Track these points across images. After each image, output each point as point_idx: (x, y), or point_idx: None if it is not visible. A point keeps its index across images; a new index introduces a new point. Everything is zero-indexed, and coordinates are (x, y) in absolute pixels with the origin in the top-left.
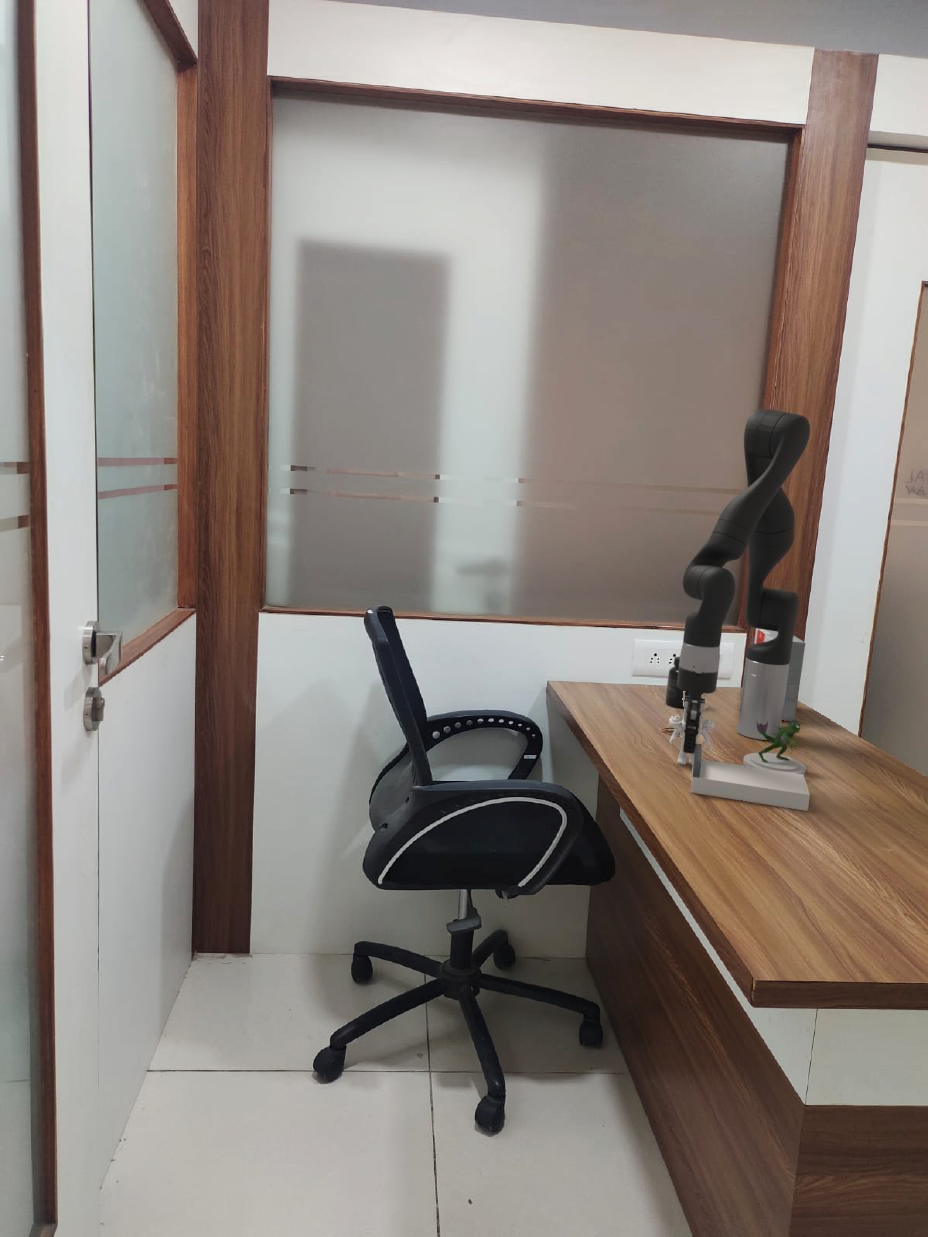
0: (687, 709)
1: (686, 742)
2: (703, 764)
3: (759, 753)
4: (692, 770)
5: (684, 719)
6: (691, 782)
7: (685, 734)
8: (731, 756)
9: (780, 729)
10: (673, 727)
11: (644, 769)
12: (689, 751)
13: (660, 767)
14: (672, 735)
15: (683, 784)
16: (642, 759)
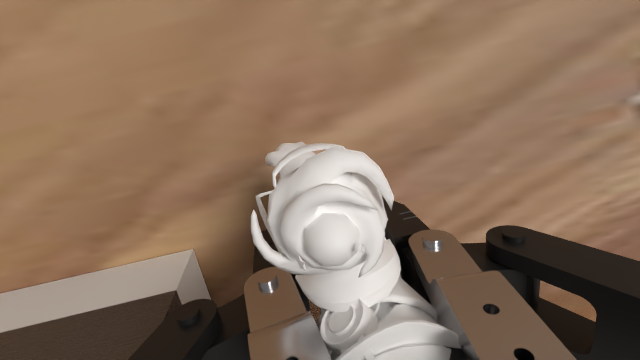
0: (611, 289)
1: (255, 259)
2: None
3: None
4: (89, 293)
5: (251, 354)
6: (5, 300)
7: (275, 269)
8: None
9: None
10: (260, 201)
11: (61, 54)
12: None
13: (162, 118)
14: (300, 165)
15: (14, 260)
16: (218, 3)
